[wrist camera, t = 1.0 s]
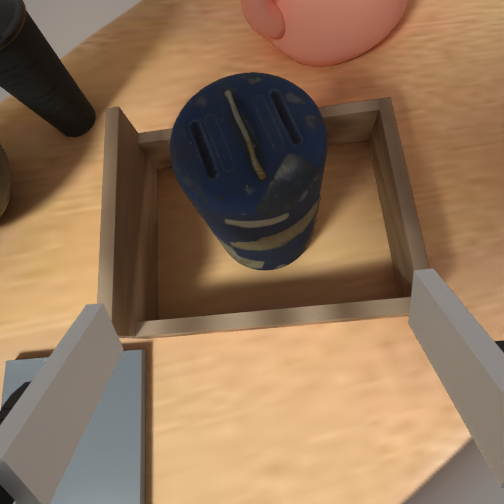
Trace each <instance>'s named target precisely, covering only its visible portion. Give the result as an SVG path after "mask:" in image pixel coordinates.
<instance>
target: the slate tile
mask: <svg viewBox="0 0 504 504" xmlns="http://www.w3.org/2000/svg"><path fill="white" fill-rule="evenodd" d="M48 358H49V357H45V358H33V359H22V360H10V361H6V368H5V376H4V385H3V394H2V403H1V407H2V406H3V405H4V403H5V402H6V401H7V399H8V398H9V397H10V395H11V394H12V393H13V392H15V391H16V390H17V389H18V388H19V387H20V386H21V385H23V384H24V383H25V382H30V381H32V380H33V379H34V377H35V376H36V375H37V373H38V372H39V370H40V369H41V368H42V366H43V365H44V363H45V362H46V361H47V359H48ZM145 411H146V349H140V350H129V351H122V353H121V355H120V358H119V360H118V362H117V364H116V366H115V368H114V370H113V372H112V374H111V376H110V379H109V381H108V383H107V385H106V387H105V389H104V391H103V393H102V395H101V397H100V400H99V402H98V404H97V406H96V408H95V410H94V412H93V414H92V416H91V418H90V420H89V423H88V425H87V427H86V429H85V431H84V433H83V435H82V437H81V439H80V441H79V444H78V446H77V448H76V450H75V452H74V454H73V456H72V458H71V460H70V462H69V465H68V467H67V469H66V471H65V473H64V475H63V477H62V479H61V481H60V483H59V485H58V488H57V490H56V492H55V494H54V496H53V498H52V500H51V502H50V504H145ZM13 504H17V503H16V502H15V501H14V503H13Z"/></svg>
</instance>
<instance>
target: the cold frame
mask: <svg viewBox="0 0 504 504" xmlns="http://www.w3.org/2000/svg"><path fill="white" fill-rule="evenodd" d="M318 109H319V111H320V113H321V115H322V117H323V120H324V123H325V127H326V132H327V146H330V145H337V144H345V143H352V142H360V141H367V140H368V141H369V146H370V151H371V156H372V161H373V166H374V171H375V176H376V181H377V186H378V192H379V197H380V202H381V207H382V212H383V217H384V222H385V227H386V232H387V237H388V242H389V247H390V252H391V257H392V262H393V267H394V272H395V277H396V282H397V288H398V293H399V298H394V299H383V300H372V301H361V302H350V303H339V304H328V305H317V306H307V307H296V308H285V309H274V310H263V311H252V312H241V313H230V314H219V315H208V316H198V317H187V318H176V319H165V320H158V277H157V169H158V168H165V167H172V165H171V160H170V138H171V134H172V130H173V128H171V129H164V130H158V131H151V132H144V133H138V132H137V131H136V129H135V128H134V127H133V125H132V124H131V123H130V121H129V120H128V118H127V117H126V116H125V114H124V113H123V112H122V110H121V109H120V108H119V107H113V108H106V122H105V144H104V165H103V187H102V209H101V230H100V252H99V273H98V295H97V304H99V303H103V304H104V306H105V309H106V311H107V313H108V315H109V318H110V320H111V322H112V324H113V326H114V329H115V331H116V333H117V335H118V338H138V339H150V338H162V337H173V336H185V335H196V334H208V333H219V332H231V331H242V330H254V329H265V328H277V327H288V326H300V325H311V324H323V323H334V322H346V321H357V320H369V319H380V318H392V317H403V316H409V312H410V302H411V292H412V283H413V273H414V270H423V269H429V265H428V260H427V256H426V251H425V247H424V243H423V238H422V234H421V229H420V225H419V221H418V216H417V212H416V207H415V203H414V199H413V194H412V190H411V185H410V181H409V177H408V172H407V168H406V163H405V159H404V155H403V150H402V146H401V141H400V137H399V133H398V128H397V124H396V119H395V115H394V111H393V106H392V102H391V97H387V98H380V99H373V100H366V101H359V102H352V103H345V104H338V105H331V106H324V107H318Z"/></svg>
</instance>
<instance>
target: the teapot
mask: <svg viewBox="0 0 504 504" xmlns="http://www.w3.org/2000/svg"><path fill="white" fill-rule="evenodd" d="M241 3H242V8H243V12H244V15H245V17H246V20H247V21H248V23H249V24H250V26H251V27H252V28H253V29H254V30H255V31H256V32H257V33H258V34H260V35H262V36H263V37H265V38H268V39H269V40H270V41H271V42H272V43H273V44H274V45H275V46H276V47H277V48H278V49H279V50H281V51H282V52H283V53H285V54H286V55H287V56H289V57H290V58H292V59H294V60H296V61H297V62H299V63H302V64H305V65H309V66H316V67H323V66H331V65H336V64H339V63H343V62H345V61H348V60H351V59H353V58H355V57H357V56H359V55H361V54H363V53H364V52H366V51H368V50H369V49H371V48H372V47H374V46H375V45H376V44H378V43H379V42H380V41H382V40H383V39H384V38H385V37H386V36H387V35H388V34H389V33H390V32H391V31H392V30H393V28H394V27H395V26H396V24H397V23H398V22H399V20H400V18H401V17H402V15H403V13H404V11H405V9H406V6H407V3H408V0H241Z"/></svg>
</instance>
